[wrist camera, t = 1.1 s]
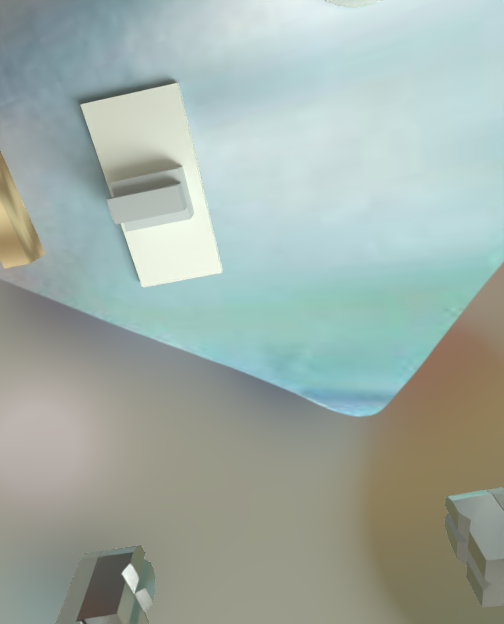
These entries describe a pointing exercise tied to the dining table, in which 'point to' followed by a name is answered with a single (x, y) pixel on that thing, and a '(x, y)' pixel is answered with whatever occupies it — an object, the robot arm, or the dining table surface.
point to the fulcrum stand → (155, 183)
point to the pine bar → (15, 225)
